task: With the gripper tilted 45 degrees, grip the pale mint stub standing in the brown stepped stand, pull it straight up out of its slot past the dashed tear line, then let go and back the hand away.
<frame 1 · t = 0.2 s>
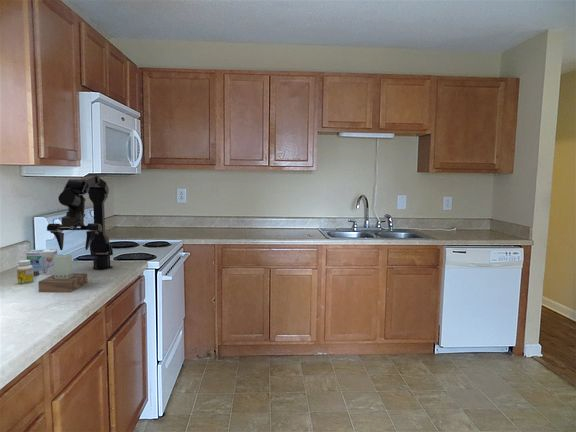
hand: (73, 249, 159), 15 cm above the countertop, tool tilted 15°, fingers open, 9 cm apart
stub: (63, 271, 159), point 7 cm above the countertop, slide at 0.0 cm
brown stepped stand: (64, 288, 160), on the countertop
light bulb box: (43, 275, 181), on the countertop
supplement bottle: (25, 284, 165), on the countertop
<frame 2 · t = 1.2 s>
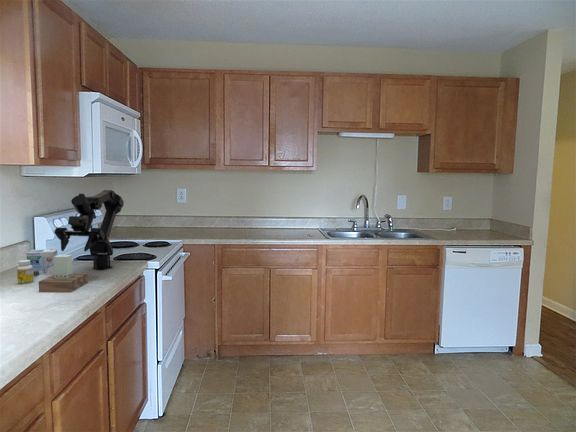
hand: (73, 250, 166), 13 cm above the countertop, tool tilted 45°, fingers open, 9 cm apart
nothing on the countertop moved.
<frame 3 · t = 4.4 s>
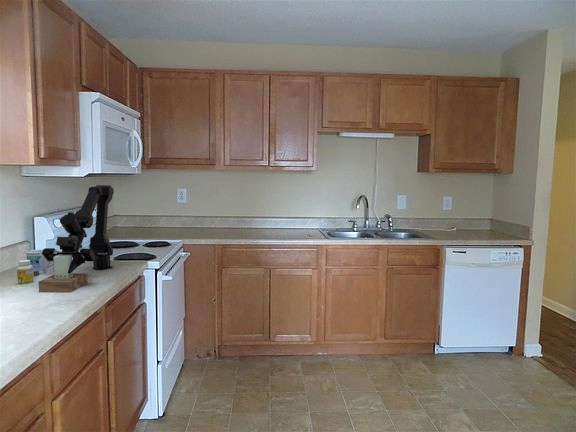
hand: (61, 273, 158), 7 cm above the countertop, tool tilted 45°, fingers closed on stub, 5 cm apart
stub: (63, 271, 159), point 7 cm above the countertop, slide at 0.0 cm, touching gripper
everything else where it was.
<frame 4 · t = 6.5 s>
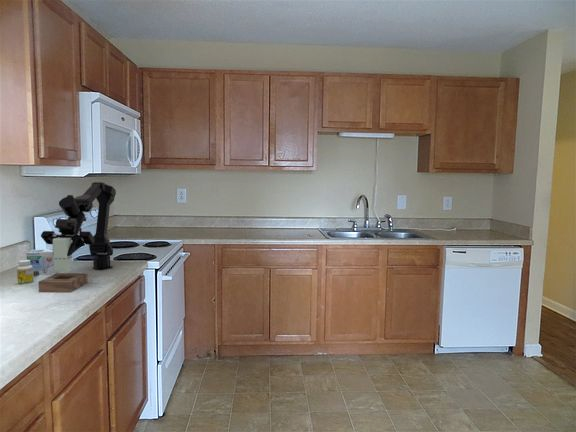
hand: (60, 255, 157), 13 cm above the countertop, tool tilted 45°, fingers closed on stub, 5 cm apart
stub: (62, 254, 158), point 14 cm above the countertop, slide at 6.8 cm, touching gripper
everything else where it was.
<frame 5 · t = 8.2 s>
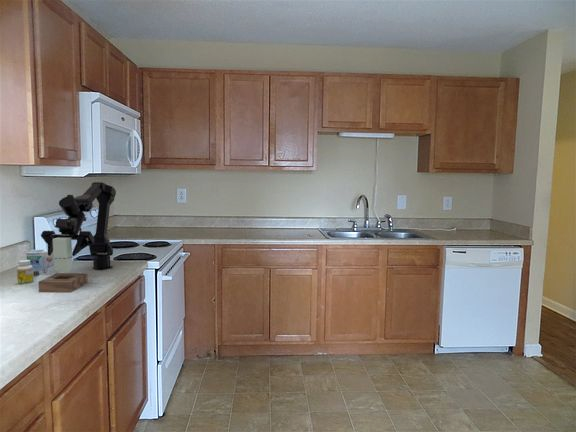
hand: (60, 255, 157), 14 cm above the countertop, tool tilted 45°, fingers open, 9 cm apart
stub: (62, 254, 158), point 14 cm above the countertop, slide at 6.9 cm
everything else where it was.
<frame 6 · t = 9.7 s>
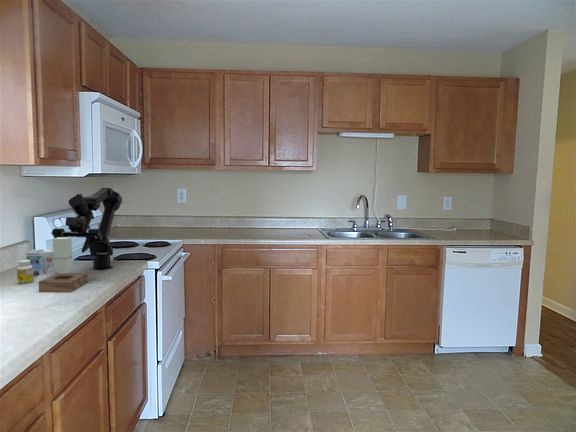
hand: (70, 252, 164), 13 cm above the countertop, tool tilted 45°, fingers open, 9 cm apart
nothing on the countertop moved.
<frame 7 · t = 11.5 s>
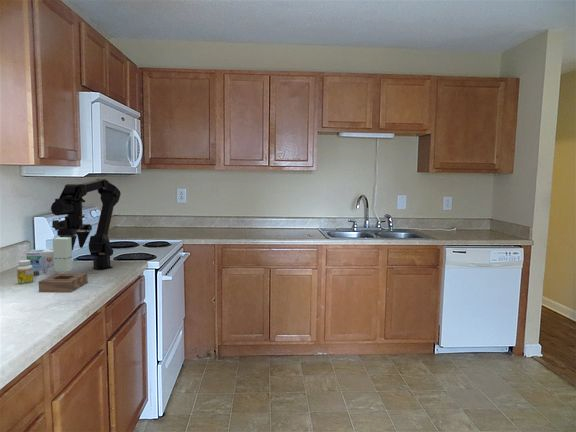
hand: (76, 249, 176), 12 cm above the countertop, tool pointing down, fingers open, 9 cm apart
nothing on the countertop moved.
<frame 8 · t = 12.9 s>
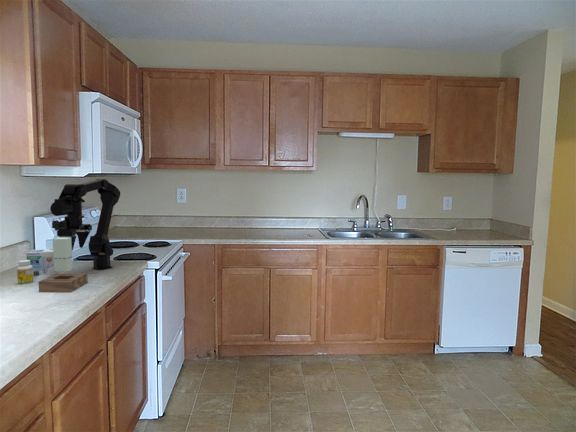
hand: (76, 249, 176), 12 cm above the countertop, tool pointing down, fingers open, 9 cm apart
nothing on the countertop moved.
at the end: stub slide at 6.9 cm; the gripper is holding nothing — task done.
